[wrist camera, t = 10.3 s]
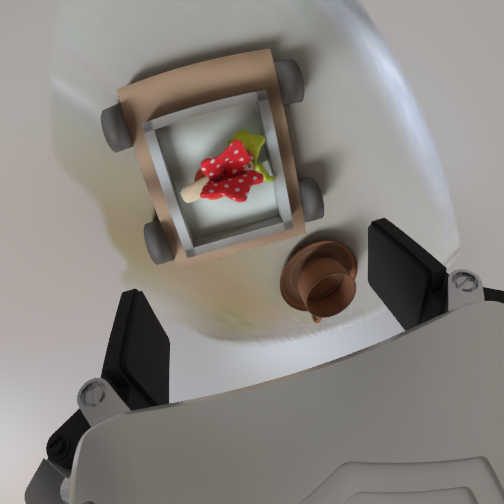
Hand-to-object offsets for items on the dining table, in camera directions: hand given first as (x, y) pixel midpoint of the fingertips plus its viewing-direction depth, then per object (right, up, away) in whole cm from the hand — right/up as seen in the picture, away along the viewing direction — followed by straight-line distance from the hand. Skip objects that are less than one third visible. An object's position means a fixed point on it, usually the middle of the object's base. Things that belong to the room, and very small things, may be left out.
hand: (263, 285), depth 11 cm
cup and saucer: (+9, -2, +31) cm, 33 cm away
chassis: (-5, +12, +21) cm, 24 cm away
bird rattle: (-3, +10, +18) cm, 21 cm away
